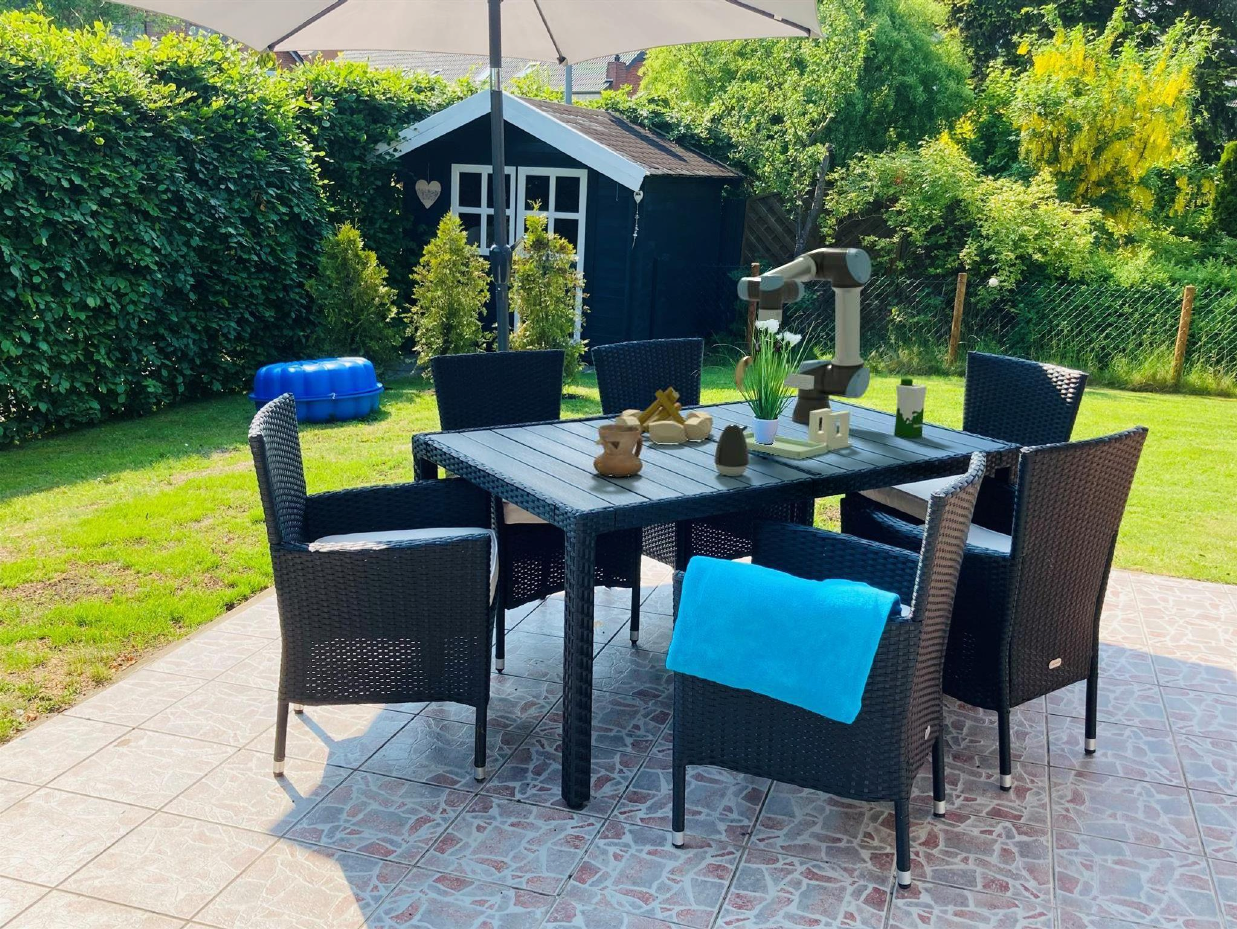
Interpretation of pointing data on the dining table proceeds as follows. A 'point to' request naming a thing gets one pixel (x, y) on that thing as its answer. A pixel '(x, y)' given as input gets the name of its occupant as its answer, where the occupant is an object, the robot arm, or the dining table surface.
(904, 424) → the milk carton
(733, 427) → the pump dispenser
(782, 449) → the tray
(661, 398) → the campfire
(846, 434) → the double loop bracket
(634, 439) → the ceramic jug
